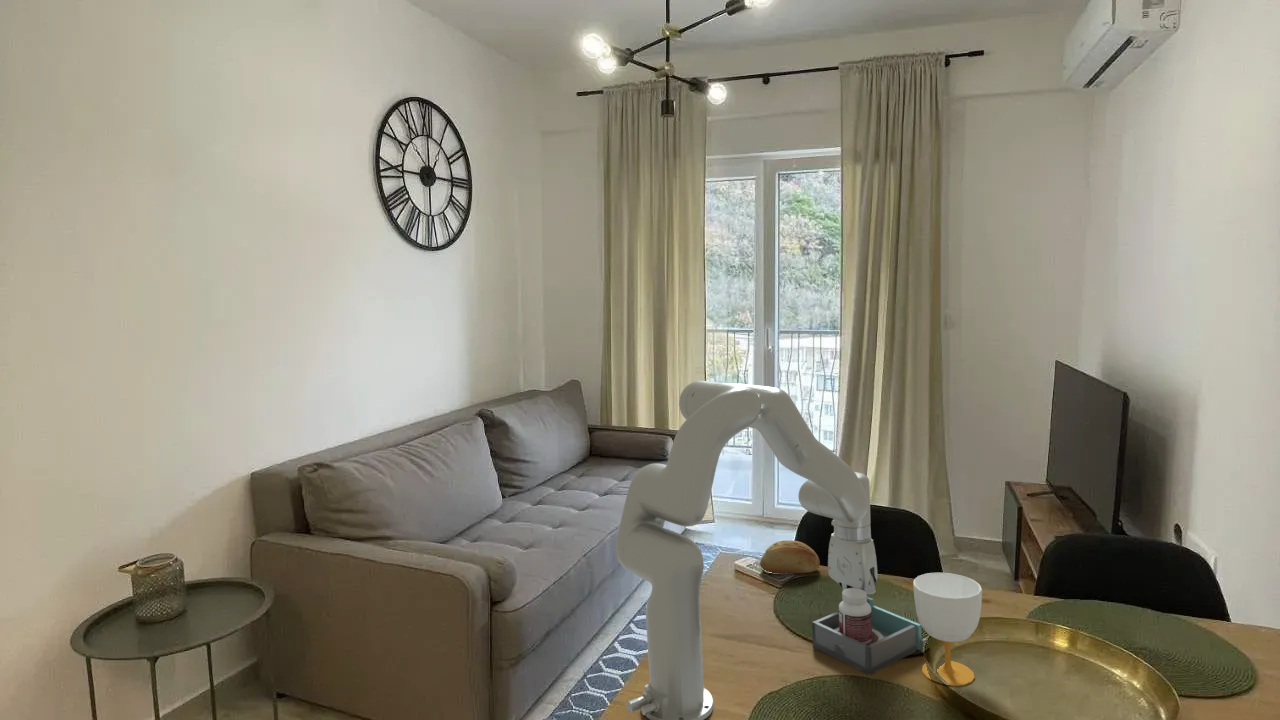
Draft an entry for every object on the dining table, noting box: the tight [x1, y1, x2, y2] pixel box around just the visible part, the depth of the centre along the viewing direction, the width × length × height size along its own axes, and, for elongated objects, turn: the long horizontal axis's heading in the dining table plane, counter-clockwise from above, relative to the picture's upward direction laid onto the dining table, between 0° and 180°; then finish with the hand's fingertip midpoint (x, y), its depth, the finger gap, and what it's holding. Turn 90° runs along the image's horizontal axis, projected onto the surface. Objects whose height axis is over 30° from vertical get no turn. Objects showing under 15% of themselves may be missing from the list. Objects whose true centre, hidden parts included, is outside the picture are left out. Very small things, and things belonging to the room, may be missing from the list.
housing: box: [811, 610, 928, 676], centre depth 148 cm, size 17×16×5 cm
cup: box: [912, 572, 983, 687], centre depth 136 cm, size 12×12×17 cm
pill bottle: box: [838, 588, 872, 645], centre depth 146 cm, size 6×6×11 cm
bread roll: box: [759, 539, 821, 575], centre depth 187 cm, size 10×15×8 cm, turn 87°
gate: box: [866, 596, 922, 651], centre depth 152 cm, size 1×14×6 cm, turn 34°
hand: (854, 613), depth 160 cm, fingers closed
